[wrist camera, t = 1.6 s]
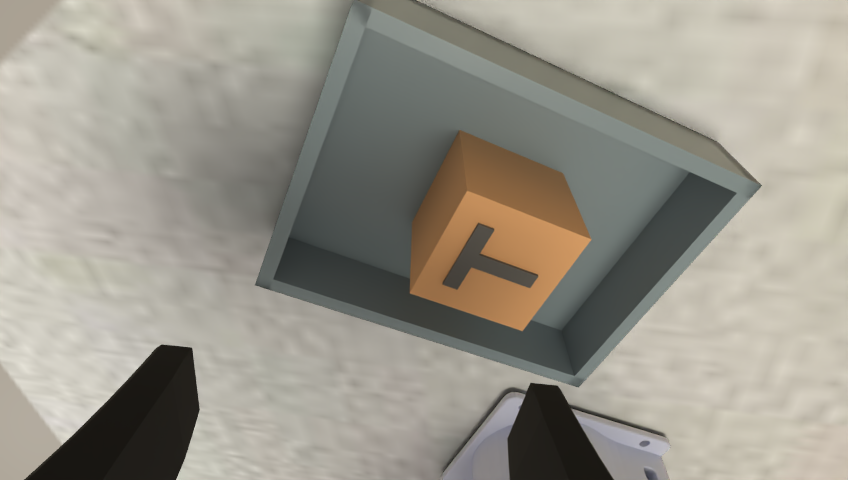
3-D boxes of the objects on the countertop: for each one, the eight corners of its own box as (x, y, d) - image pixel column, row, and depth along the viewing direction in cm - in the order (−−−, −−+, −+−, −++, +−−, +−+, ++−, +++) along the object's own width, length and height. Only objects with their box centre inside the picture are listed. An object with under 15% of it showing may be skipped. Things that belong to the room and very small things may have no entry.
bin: (718, 142, 19) (761, 185, 17) (562, 333, 24) (578, 387, 22) (364, -24, 16) (353, -2, 14) (274, 235, 21) (255, 285, 19)
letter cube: (562, 173, 19) (592, 241, 16) (507, 257, 21) (523, 333, 18) (459, 129, 18) (467, 192, 15) (411, 222, 20) (409, 295, 17)
